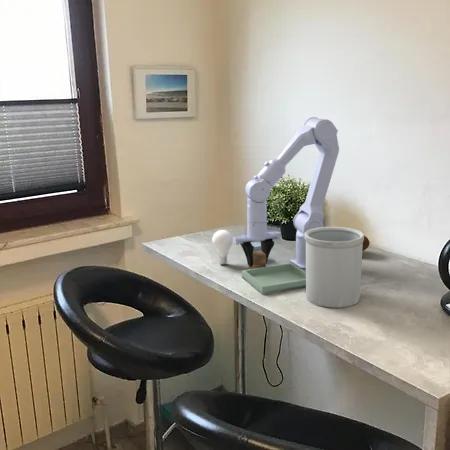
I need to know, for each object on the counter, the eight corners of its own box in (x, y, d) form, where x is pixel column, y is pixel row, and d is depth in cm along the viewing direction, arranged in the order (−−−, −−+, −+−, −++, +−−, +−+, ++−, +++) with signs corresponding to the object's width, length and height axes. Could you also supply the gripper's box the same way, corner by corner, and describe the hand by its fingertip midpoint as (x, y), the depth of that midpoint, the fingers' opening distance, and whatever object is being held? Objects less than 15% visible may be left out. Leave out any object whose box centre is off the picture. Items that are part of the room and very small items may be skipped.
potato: (351, 248, 187) (352, 225, 185) (373, 256, 179) (374, 232, 177) (334, 252, 183) (335, 229, 181) (357, 260, 175) (358, 236, 173)
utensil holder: (293, 292, 152) (294, 229, 147) (341, 283, 157) (343, 223, 152) (321, 313, 138) (323, 244, 134) (372, 303, 143) (376, 237, 139)
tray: (291, 269, 168) (291, 262, 168) (314, 285, 156) (315, 278, 155) (242, 277, 163) (242, 270, 162) (262, 294, 150) (262, 286, 150)
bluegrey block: (258, 257, 180) (258, 242, 179) (264, 260, 177) (264, 245, 175) (247, 258, 179) (247, 243, 178) (252, 262, 175) (252, 247, 174)
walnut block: (260, 266, 172) (260, 250, 171) (266, 270, 169) (266, 254, 167) (248, 267, 171) (248, 252, 170) (253, 272, 167) (253, 256, 166)
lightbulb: (231, 268, 171) (230, 233, 168) (210, 267, 172) (209, 232, 169) (235, 261, 177) (234, 227, 174) (215, 260, 178) (214, 227, 175)
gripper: (273, 215, 172) (273, 257, 175) (229, 220, 167) (229, 263, 170) (283, 220, 165) (283, 264, 169) (238, 226, 160) (238, 270, 164)
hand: (257, 264), depth 169 cm, fingers open, 4 cm apart
